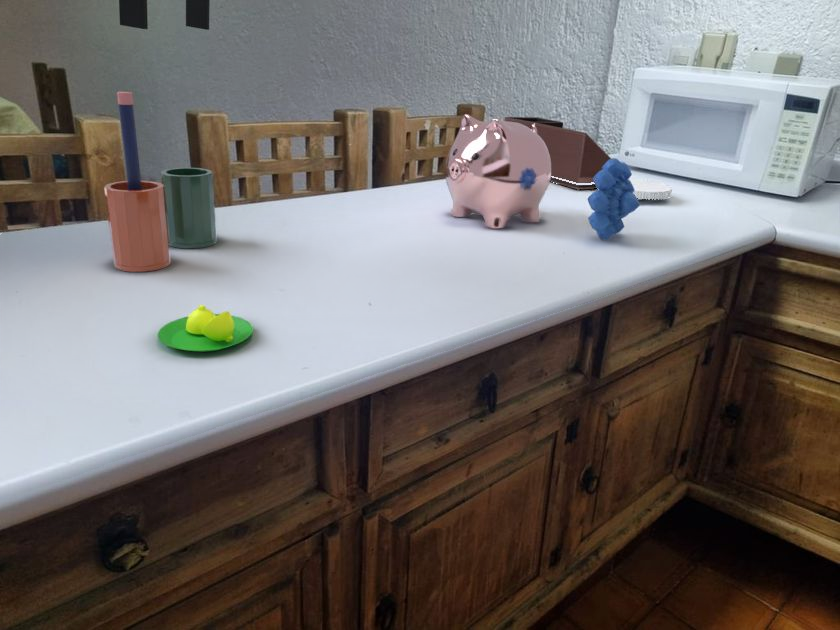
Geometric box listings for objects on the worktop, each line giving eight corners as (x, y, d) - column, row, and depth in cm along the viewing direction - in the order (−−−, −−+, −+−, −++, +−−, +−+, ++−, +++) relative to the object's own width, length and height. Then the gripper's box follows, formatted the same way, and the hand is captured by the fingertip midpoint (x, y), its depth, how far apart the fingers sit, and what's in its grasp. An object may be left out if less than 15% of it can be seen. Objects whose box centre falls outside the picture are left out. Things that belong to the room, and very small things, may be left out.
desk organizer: (532, 164, 161) (538, 116, 157) (616, 188, 137) (625, 132, 133) (496, 165, 156) (501, 116, 152) (576, 190, 132) (585, 133, 128)
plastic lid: (649, 208, 120) (652, 194, 119) (582, 194, 129) (584, 181, 128) (681, 199, 130) (684, 186, 129) (616, 187, 138) (618, 175, 137)
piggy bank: (418, 214, 106) (423, 111, 100) (495, 203, 117) (505, 110, 111) (485, 237, 95) (496, 122, 89) (564, 222, 106) (578, 120, 100)
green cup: (158, 246, 82) (151, 173, 79) (182, 234, 88) (176, 166, 85) (203, 250, 82) (198, 178, 78) (224, 238, 87) (220, 169, 84)
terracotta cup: (103, 268, 73) (92, 188, 70) (133, 254, 79) (124, 178, 76) (153, 274, 73) (145, 193, 69) (180, 259, 78) (173, 183, 75)
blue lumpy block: (615, 253, 91) (630, 165, 86) (571, 242, 95) (583, 158, 90) (647, 238, 99) (663, 158, 95) (606, 229, 103) (618, 151, 99)
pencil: (133, 259, 75) (114, 92, 68) (140, 256, 76) (121, 91, 69) (144, 261, 75) (126, 93, 68) (151, 257, 76) (134, 92, 69)
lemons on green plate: (271, 331, 60) (270, 302, 59) (213, 365, 53) (210, 333, 52) (201, 314, 63) (199, 286, 62) (137, 344, 56) (133, 313, 55)
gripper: (127, -241, 55) (135, 33, 64) (252, -162, 77) (245, 32, 86) (45, -252, 56) (65, 20, 64) (192, -170, 78) (192, 23, 87)
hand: (168, 28), depth 75 cm, fingers open, 13 cm apart
